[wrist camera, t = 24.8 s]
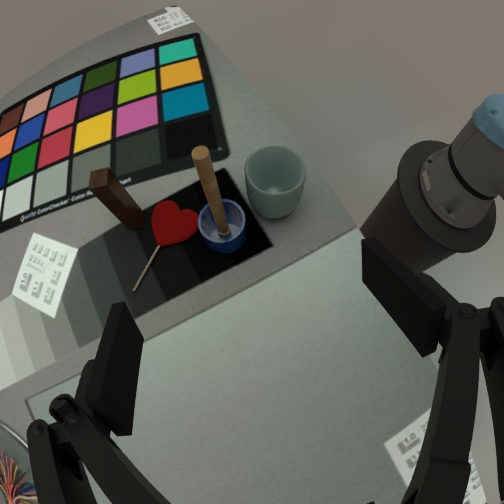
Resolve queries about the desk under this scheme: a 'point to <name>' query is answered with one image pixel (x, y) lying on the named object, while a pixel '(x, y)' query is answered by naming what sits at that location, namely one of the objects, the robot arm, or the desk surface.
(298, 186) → the cup
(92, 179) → the block
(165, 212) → the lollipop
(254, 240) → the desk surface
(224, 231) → the stick
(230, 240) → the bowl
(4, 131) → the desk surface
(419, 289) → the robot arm
